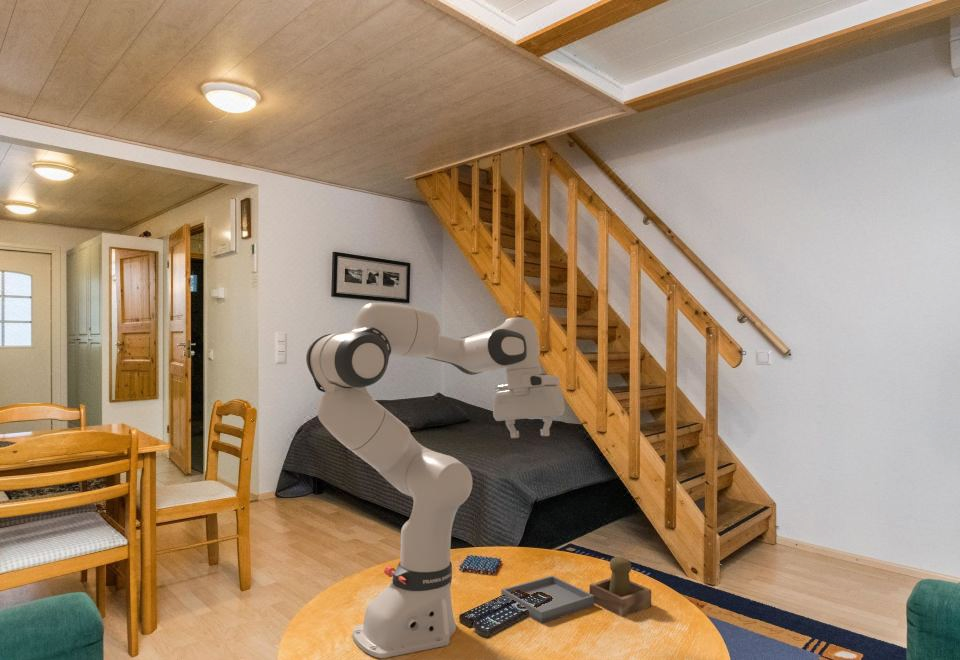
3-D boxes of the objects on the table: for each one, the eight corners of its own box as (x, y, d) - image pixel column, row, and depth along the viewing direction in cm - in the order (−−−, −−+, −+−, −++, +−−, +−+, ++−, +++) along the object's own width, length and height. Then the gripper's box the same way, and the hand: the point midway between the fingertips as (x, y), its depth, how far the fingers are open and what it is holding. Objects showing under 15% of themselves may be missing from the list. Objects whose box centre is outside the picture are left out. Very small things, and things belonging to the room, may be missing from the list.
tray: (541, 623, 133) (541, 612, 133) (501, 599, 145) (501, 589, 145) (593, 605, 143) (594, 595, 143) (552, 585, 155) (552, 575, 155)
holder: (622, 617, 137) (622, 599, 137) (589, 600, 146) (589, 584, 146) (651, 606, 143) (651, 589, 143) (618, 591, 152) (618, 575, 152)
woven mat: (495, 577, 160) (495, 570, 160) (458, 573, 163) (458, 566, 163) (503, 564, 170) (503, 557, 171) (467, 560, 173) (468, 553, 173)
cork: (635, 609, 141) (635, 563, 142) (610, 608, 141) (610, 562, 142) (629, 598, 147) (629, 554, 148) (605, 598, 147) (605, 553, 148)
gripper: (485, 385, 152) (490, 439, 150) (550, 376, 139) (556, 436, 136) (501, 385, 157) (505, 438, 154) (565, 377, 143) (570, 434, 141)
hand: (529, 437), depth 145 cm, fingers open, 8 cm apart
